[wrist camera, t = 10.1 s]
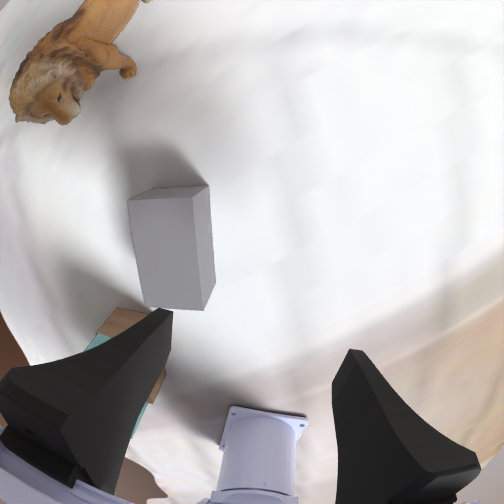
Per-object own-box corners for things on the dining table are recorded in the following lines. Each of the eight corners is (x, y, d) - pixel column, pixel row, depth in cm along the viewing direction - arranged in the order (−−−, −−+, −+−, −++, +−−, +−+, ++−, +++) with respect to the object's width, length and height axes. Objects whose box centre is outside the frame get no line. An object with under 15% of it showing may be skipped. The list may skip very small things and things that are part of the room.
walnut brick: (166, 374, 26) (152, 404, 23) (129, 365, 27) (112, 392, 23) (159, 315, 24) (141, 344, 20) (117, 306, 24) (95, 333, 20)
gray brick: (216, 281, 22) (203, 310, 18) (165, 279, 22) (145, 306, 19) (209, 185, 19) (192, 197, 16) (154, 187, 20) (127, 200, 16)
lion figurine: (122, 134, 18) (32, 144, 10) (72, 109, 18) (-18, 112, 9) (229, -36, 13) (199, -112, 5) (169, -50, 12) (119, -111, 4)
